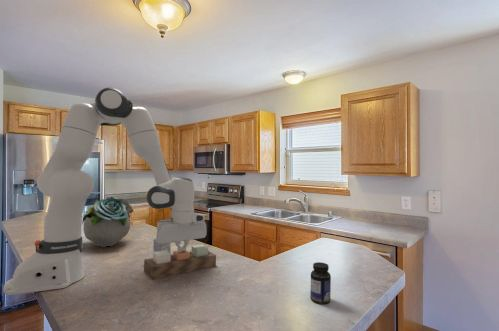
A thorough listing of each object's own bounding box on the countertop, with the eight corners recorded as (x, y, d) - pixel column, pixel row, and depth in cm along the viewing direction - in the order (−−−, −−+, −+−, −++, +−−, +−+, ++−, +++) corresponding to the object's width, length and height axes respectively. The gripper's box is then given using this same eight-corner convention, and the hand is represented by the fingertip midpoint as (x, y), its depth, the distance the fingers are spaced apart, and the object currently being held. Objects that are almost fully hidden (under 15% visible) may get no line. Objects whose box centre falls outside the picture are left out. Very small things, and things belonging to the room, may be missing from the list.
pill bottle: (326, 295, 90) (327, 261, 91) (333, 304, 84) (333, 268, 84) (308, 295, 90) (308, 261, 90) (312, 304, 84) (313, 268, 84)
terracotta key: (177, 266, 108) (178, 254, 108) (172, 262, 112) (173, 251, 112) (189, 264, 111) (190, 252, 111) (184, 260, 115) (184, 249, 115)
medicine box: (162, 259, 122) (162, 239, 122) (152, 258, 123) (153, 238, 123) (170, 254, 129) (171, 235, 130) (161, 253, 130) (162, 234, 130)
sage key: (196, 260, 113) (197, 249, 113) (191, 256, 117) (191, 246, 117) (207, 258, 116) (207, 247, 116) (202, 255, 120) (202, 244, 120)
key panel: (152, 279, 100) (152, 267, 100) (143, 271, 108) (144, 259, 108) (215, 266, 115) (216, 255, 115) (204, 259, 123) (204, 249, 123)
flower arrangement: (141, 239, 154) (142, 195, 154) (118, 253, 129) (120, 200, 129) (96, 238, 154) (97, 194, 154) (65, 251, 129) (67, 198, 129)
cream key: (157, 267, 103) (157, 255, 103) (152, 264, 107) (153, 252, 107) (170, 265, 106) (170, 253, 106) (165, 261, 110) (165, 250, 110)
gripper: (159, 221, 103) (159, 258, 103) (208, 216, 116) (207, 249, 115) (154, 218, 108) (153, 254, 108) (201, 213, 121) (200, 245, 120)
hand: (181, 251), depth 112 cm, fingers closed
